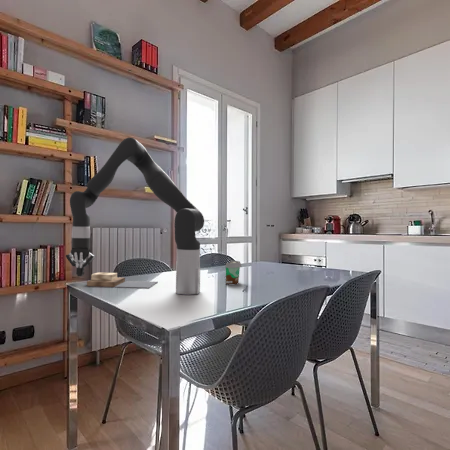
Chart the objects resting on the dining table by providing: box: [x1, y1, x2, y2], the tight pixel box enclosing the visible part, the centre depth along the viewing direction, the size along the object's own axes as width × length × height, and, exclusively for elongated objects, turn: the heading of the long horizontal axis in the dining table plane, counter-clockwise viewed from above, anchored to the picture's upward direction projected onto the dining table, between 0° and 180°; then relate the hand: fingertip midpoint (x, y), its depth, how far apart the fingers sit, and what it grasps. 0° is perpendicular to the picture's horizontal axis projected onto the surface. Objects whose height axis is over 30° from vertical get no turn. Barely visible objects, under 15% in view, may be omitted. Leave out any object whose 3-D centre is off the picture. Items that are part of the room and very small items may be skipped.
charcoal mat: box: [114, 280, 159, 289], centre depth 144 cm, size 14×14×1 cm
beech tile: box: [90, 272, 118, 281], centre depth 144 cm, size 9×6×2 cm, turn 87°
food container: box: [225, 260, 242, 285], centre depth 153 cm, size 12×6×10 cm, turn 168°
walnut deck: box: [86, 276, 126, 288], centre depth 144 cm, size 12×12×2 cm
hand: (80, 276), depth 145 cm, fingers closed
